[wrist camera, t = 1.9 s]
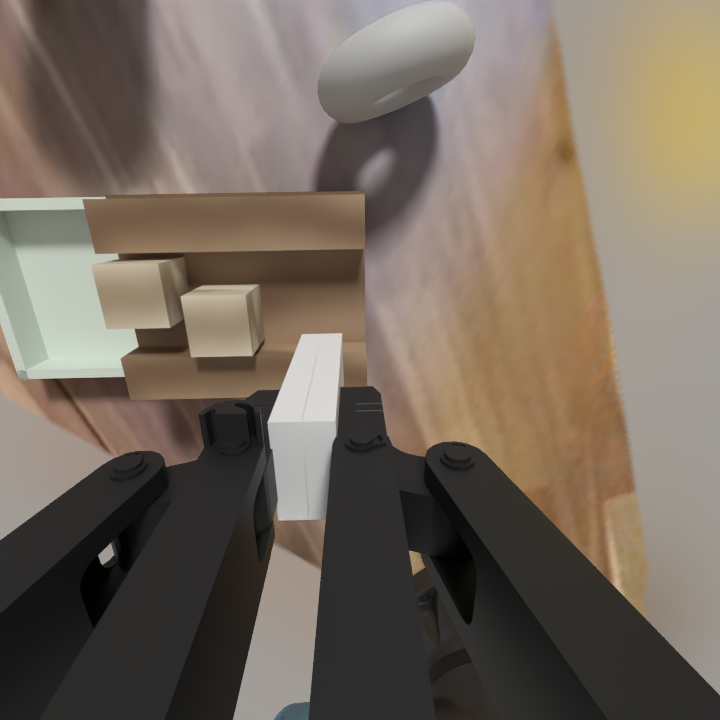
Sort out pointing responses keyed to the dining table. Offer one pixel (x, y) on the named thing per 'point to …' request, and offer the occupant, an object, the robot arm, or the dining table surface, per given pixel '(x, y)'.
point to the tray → (55, 293)
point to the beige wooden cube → (223, 320)
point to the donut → (396, 61)
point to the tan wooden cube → (141, 291)
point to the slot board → (244, 280)
